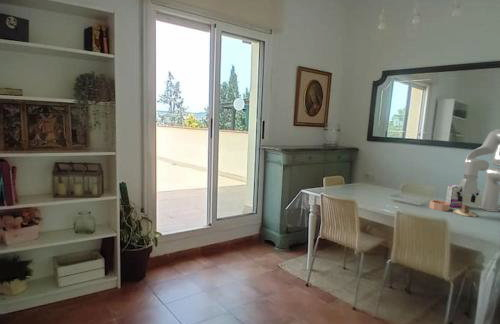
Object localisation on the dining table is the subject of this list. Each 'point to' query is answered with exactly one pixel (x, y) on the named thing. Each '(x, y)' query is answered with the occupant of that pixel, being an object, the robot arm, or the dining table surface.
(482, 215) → the dining table surface
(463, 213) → the lid
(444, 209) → the bowl
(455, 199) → the candy bar box
